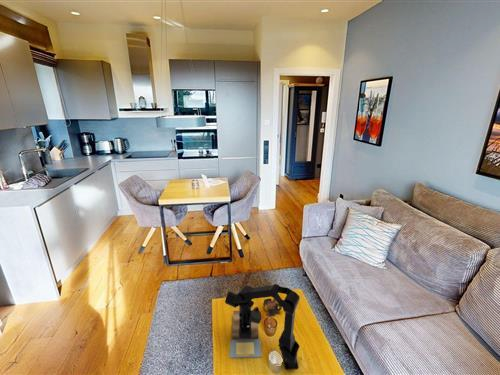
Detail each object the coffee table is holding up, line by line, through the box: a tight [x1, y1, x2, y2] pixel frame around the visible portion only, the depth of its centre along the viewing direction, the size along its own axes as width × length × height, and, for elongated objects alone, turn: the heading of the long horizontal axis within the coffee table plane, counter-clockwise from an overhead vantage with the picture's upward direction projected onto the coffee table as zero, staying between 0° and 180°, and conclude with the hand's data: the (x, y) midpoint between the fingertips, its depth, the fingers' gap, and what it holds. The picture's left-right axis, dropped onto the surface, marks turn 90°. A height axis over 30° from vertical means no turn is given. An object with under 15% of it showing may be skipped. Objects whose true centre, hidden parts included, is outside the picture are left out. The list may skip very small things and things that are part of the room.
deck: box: [231, 310, 259, 340], centre depth 139 cm, size 16×14×4 cm
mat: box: [229, 338, 263, 359], centre depth 127 cm, size 10×16×1 cm, turn 91°
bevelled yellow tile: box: [236, 342, 254, 357], centre depth 125 cm, size 6×9×2 cm, turn 91°
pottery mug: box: [262, 298, 283, 317], centre depth 150 cm, size 12×10×8 cm
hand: (245, 332), depth 130 cm, fingers closed
